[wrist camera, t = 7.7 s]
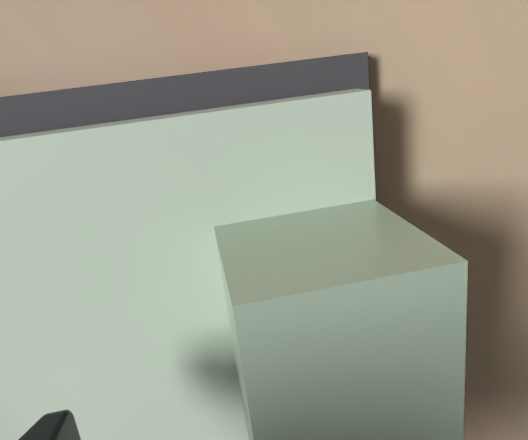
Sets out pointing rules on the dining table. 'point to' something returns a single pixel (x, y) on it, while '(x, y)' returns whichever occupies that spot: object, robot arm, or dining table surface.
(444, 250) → the lid
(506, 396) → the dining table surface
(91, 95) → the mat
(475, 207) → the dining table surface
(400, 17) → the dining table surface
